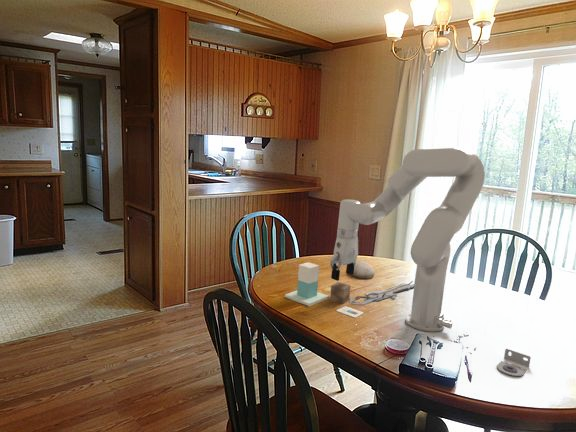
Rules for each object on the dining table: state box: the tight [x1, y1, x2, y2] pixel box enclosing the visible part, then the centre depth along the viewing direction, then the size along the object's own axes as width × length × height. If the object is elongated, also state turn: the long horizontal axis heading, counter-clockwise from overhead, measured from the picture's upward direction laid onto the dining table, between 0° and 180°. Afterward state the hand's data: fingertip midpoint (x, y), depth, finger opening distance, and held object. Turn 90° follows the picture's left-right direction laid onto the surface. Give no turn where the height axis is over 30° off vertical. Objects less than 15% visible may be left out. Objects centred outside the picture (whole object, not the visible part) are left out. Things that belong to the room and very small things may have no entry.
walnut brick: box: [329, 281, 351, 305], centre depth 162 cm, size 6×6×6 cm
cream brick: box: [297, 261, 320, 284], centre depth 161 cm, size 6×6×6 cm
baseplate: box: [284, 289, 330, 307], centre depth 163 cm, size 12×12×1 cm
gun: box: [348, 281, 414, 306], centre depth 171 cm, size 39×2×10 cm
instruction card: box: [335, 305, 365, 319], centre depth 151 cm, size 8×6×1 cm
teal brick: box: [296, 279, 319, 299], centre depth 162 cm, size 6×6×6 cm
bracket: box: [496, 348, 532, 377], centre depth 118 cm, size 7×10×4 cm, turn 138°
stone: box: [352, 260, 376, 279], centre depth 195 cm, size 13×10×8 cm
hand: (342, 276), depth 161 cm, fingers open, 9 cm apart
